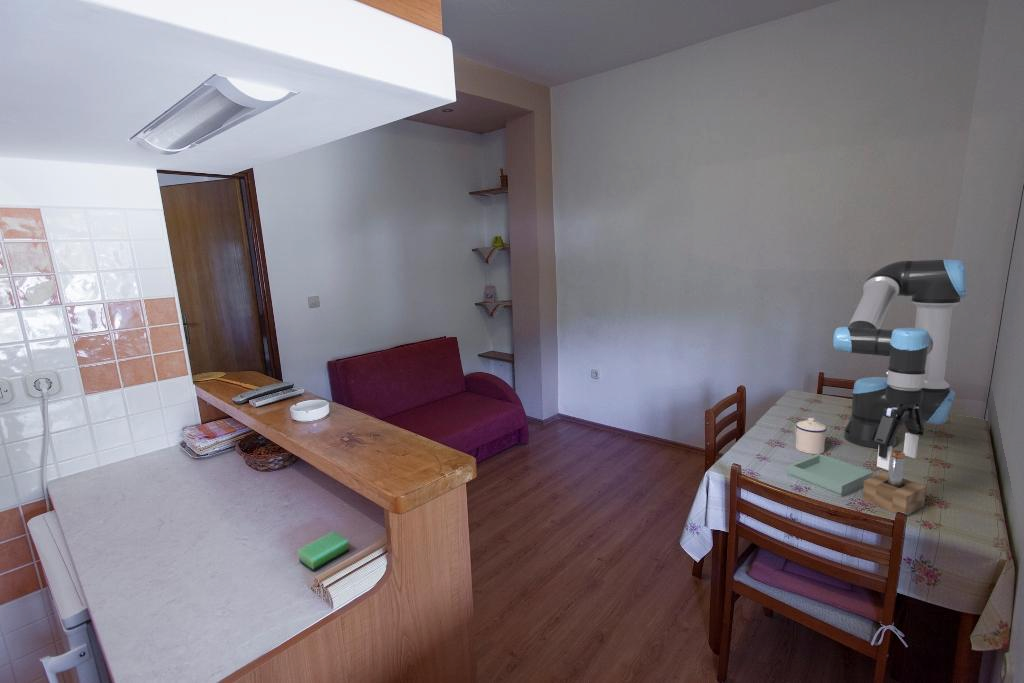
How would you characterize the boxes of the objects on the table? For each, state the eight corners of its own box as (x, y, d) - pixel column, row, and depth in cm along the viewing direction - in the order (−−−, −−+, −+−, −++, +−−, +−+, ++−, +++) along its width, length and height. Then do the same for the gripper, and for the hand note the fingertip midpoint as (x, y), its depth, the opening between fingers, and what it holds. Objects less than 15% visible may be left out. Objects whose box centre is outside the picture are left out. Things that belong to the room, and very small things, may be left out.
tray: (817, 463, 155) (818, 453, 154) (871, 482, 140) (872, 472, 140) (786, 475, 148) (787, 465, 147) (841, 497, 133) (841, 486, 133)
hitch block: (881, 491, 136) (883, 471, 134) (923, 506, 127) (926, 486, 126) (862, 500, 131) (864, 480, 130) (904, 517, 122) (906, 496, 121)
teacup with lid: (831, 453, 161) (833, 421, 159) (806, 456, 160) (808, 424, 158) (806, 440, 173) (808, 410, 171) (783, 442, 172) (785, 412, 170)
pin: (889, 499, 131) (894, 449, 128) (901, 504, 128) (907, 453, 126) (883, 502, 130) (888, 452, 127) (896, 507, 127) (901, 456, 124)
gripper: (911, 376, 132) (904, 447, 135) (862, 391, 121) (855, 467, 124) (945, 382, 125) (936, 456, 129) (896, 398, 114) (888, 478, 118)
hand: (896, 462), depth 127 cm, fingers open, 13 cm apart
